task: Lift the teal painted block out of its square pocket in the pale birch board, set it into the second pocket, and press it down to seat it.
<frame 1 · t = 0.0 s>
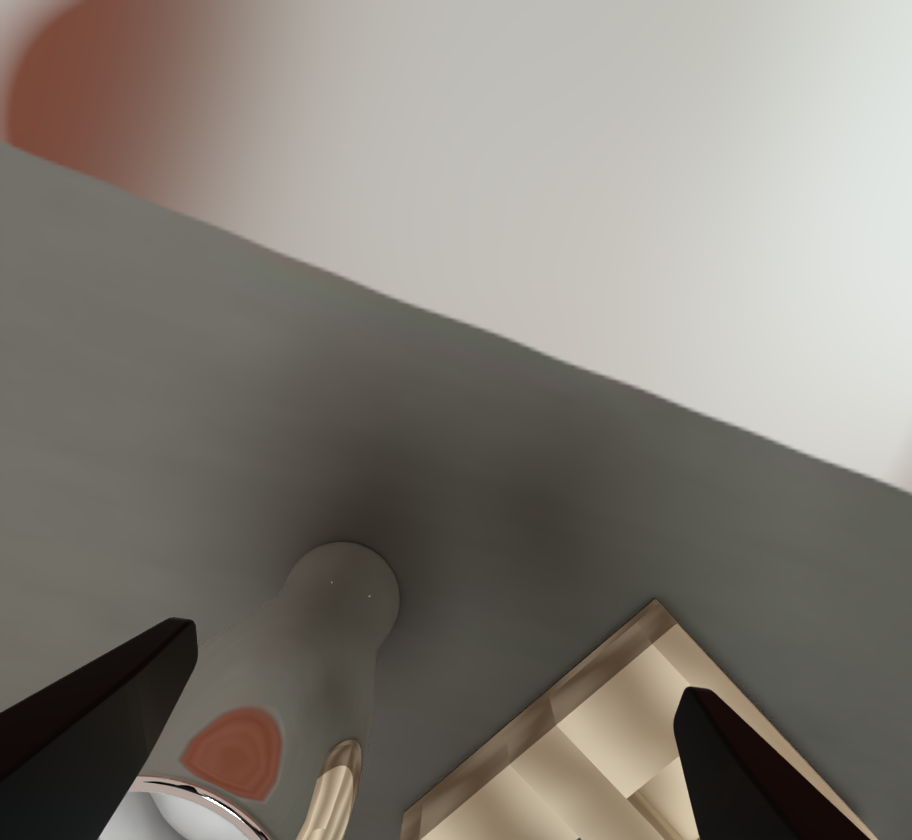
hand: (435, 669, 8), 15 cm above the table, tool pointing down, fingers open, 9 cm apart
pocket board: (626, 814, 25), on the table
beer glass: (344, 595, 25), on the table
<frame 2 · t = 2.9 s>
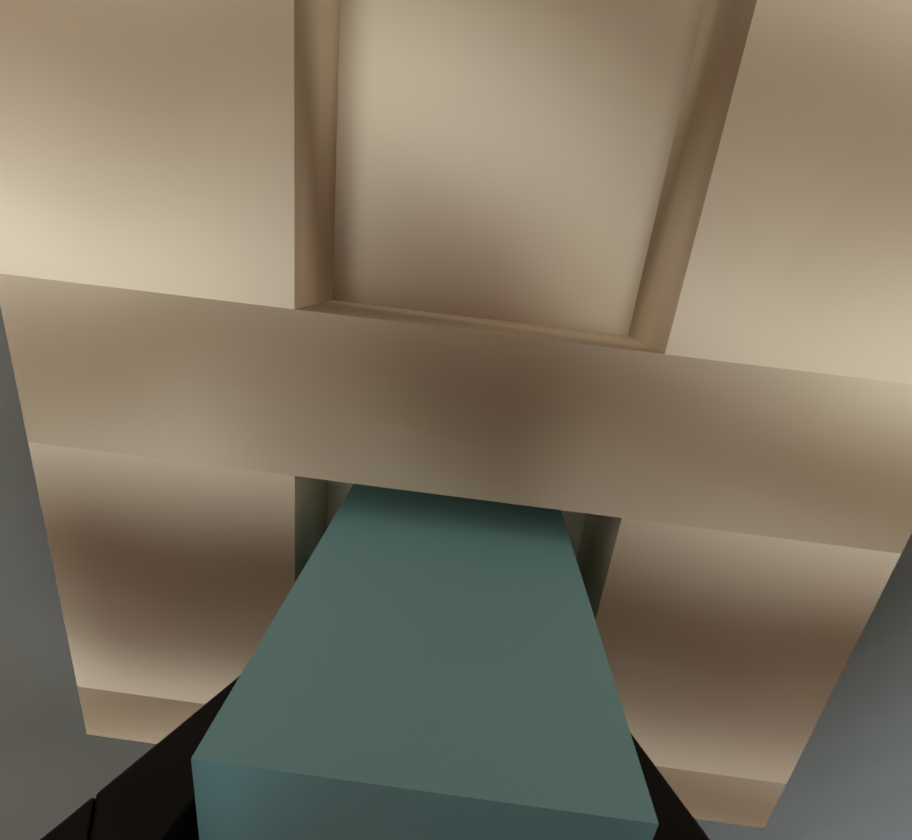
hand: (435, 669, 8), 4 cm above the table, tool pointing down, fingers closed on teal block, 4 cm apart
pocket board: (470, 383, 10), on the table
teal block: (447, 566, 11), resting on pocket board, touching gripper
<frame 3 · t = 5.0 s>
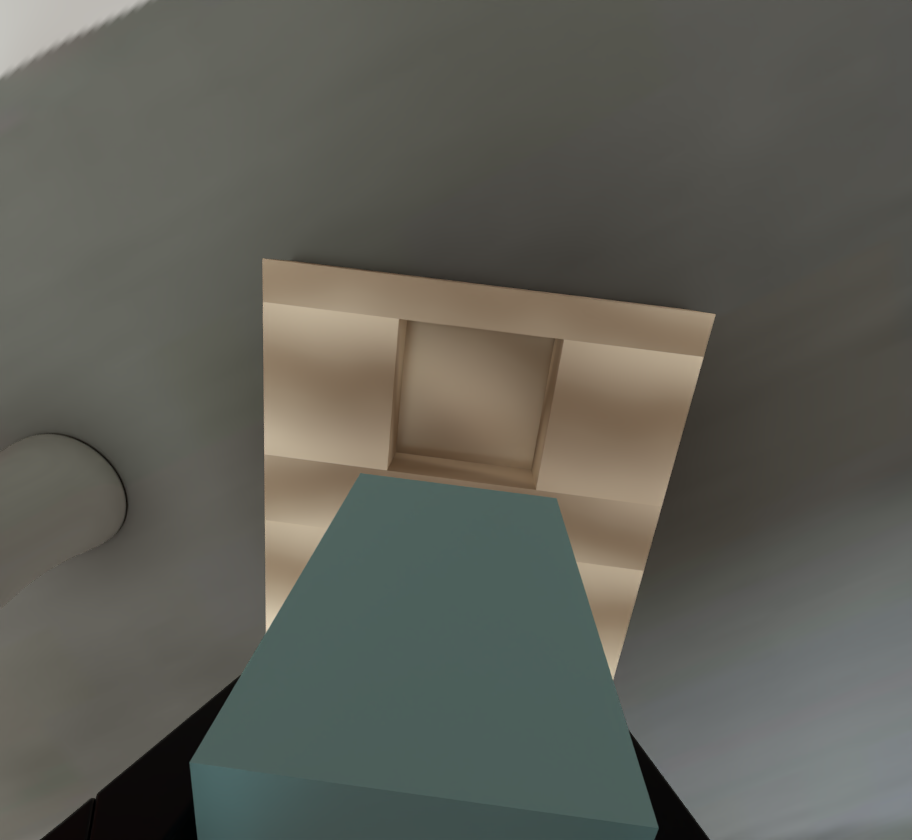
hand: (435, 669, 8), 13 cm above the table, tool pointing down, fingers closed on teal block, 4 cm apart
pocket board: (459, 486, 21), on the table
beer glass: (70, 489, 23), on the table
teal block: (447, 568, 11), point 10 cm above the table, touching gripper
when the fingers open (4 cm above the table, at t = 7.3 s): teal block stays where it is, resting on pocket board.
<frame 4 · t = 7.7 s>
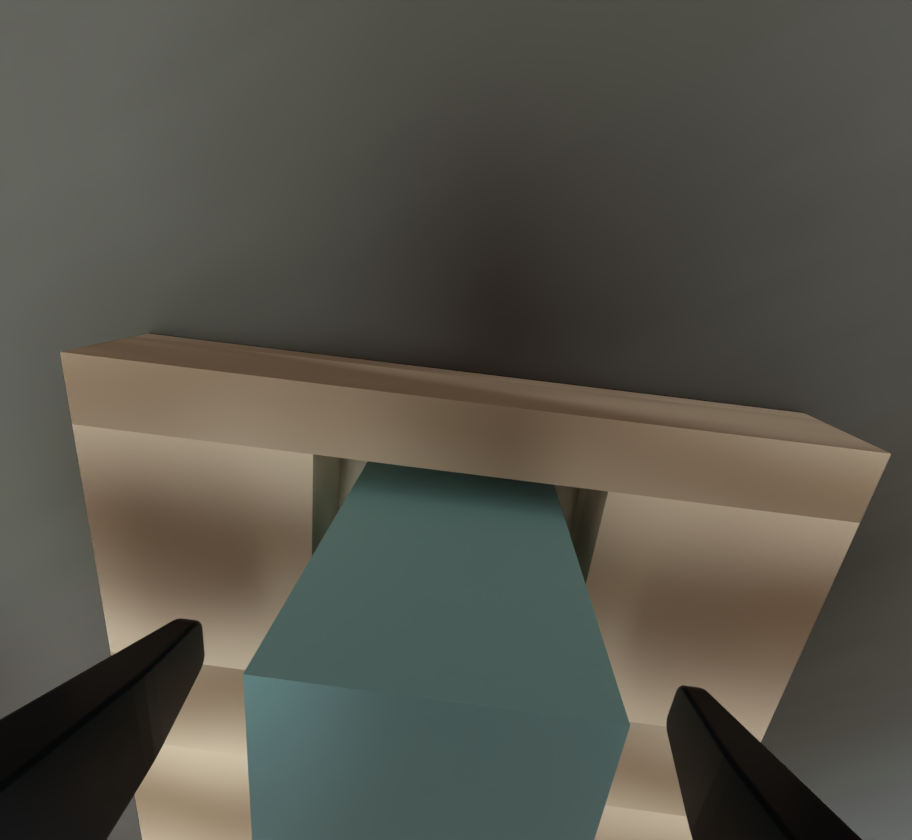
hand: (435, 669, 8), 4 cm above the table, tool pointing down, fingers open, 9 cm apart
pocket board: (436, 659, 14), on the table
teal block: (451, 543, 12), resting on pocket board
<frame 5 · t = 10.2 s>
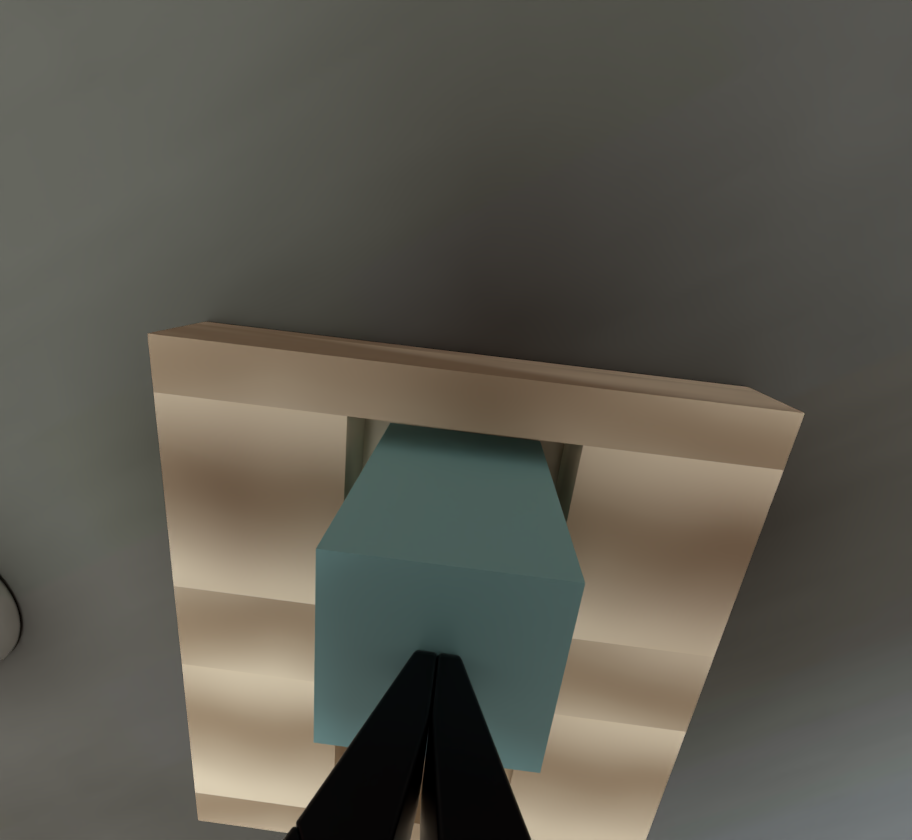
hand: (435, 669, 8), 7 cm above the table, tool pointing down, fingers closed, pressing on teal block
pocket board: (442, 603, 16), on the table
teal block: (456, 498, 15), resting on pocket board, touching gripper
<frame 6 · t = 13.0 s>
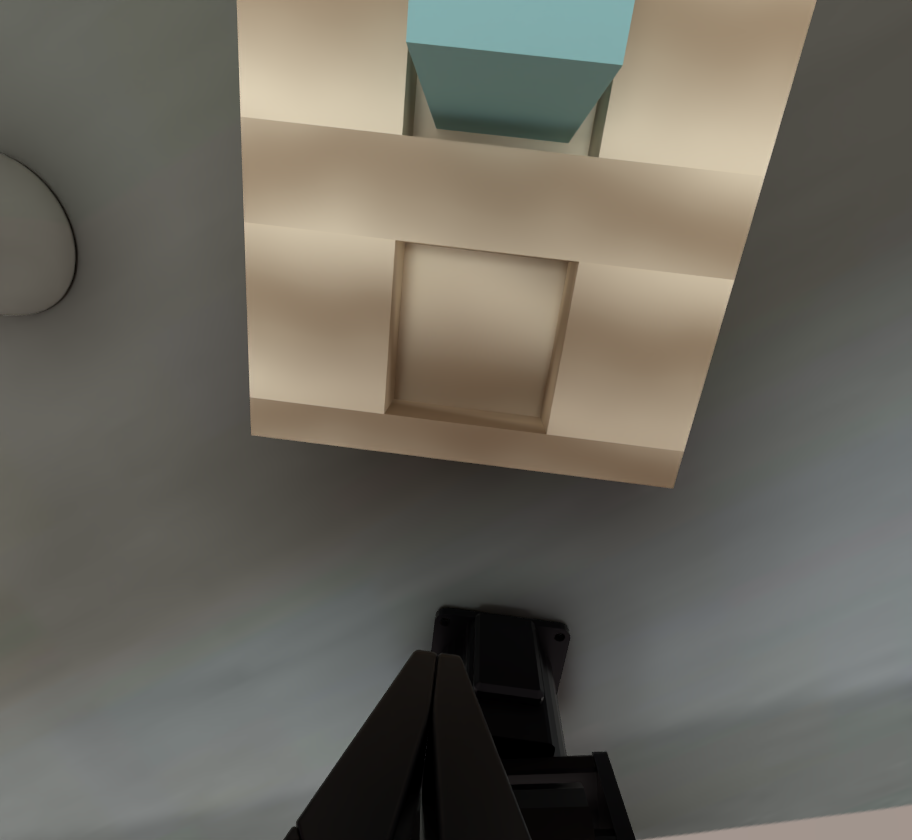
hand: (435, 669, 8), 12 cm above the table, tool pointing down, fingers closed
pocket board: (491, 209, 17), on the table
beer glass: (6, 236, 18), on the table
teal block: (511, 56, 15), resting on pocket board
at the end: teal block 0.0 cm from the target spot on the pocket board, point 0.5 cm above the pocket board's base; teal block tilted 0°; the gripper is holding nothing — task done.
